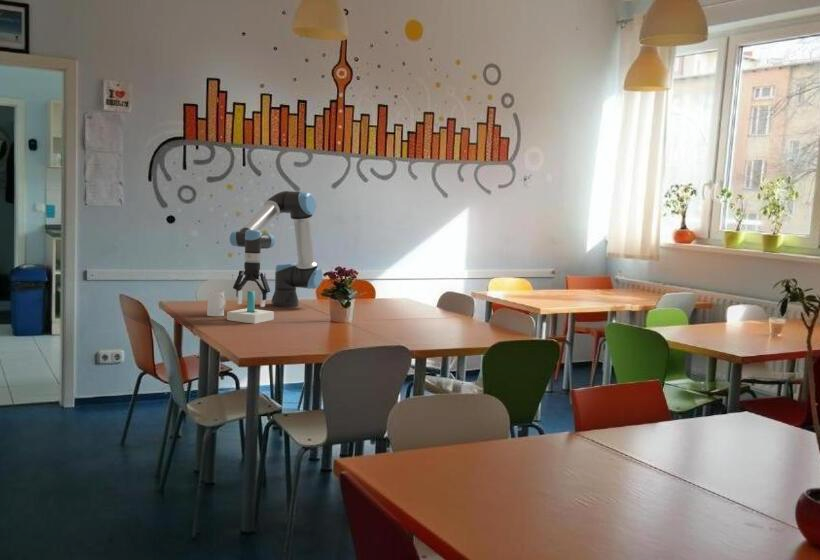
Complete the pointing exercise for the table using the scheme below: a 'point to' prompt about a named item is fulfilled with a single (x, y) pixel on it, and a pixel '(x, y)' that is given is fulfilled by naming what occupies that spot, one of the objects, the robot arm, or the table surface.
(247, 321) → the socket block
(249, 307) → the peg
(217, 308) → the mug
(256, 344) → the table surface
